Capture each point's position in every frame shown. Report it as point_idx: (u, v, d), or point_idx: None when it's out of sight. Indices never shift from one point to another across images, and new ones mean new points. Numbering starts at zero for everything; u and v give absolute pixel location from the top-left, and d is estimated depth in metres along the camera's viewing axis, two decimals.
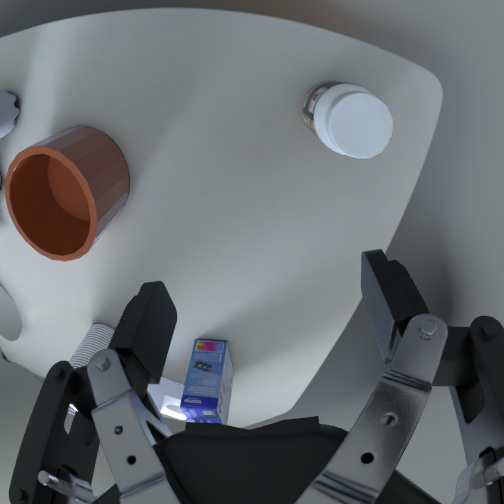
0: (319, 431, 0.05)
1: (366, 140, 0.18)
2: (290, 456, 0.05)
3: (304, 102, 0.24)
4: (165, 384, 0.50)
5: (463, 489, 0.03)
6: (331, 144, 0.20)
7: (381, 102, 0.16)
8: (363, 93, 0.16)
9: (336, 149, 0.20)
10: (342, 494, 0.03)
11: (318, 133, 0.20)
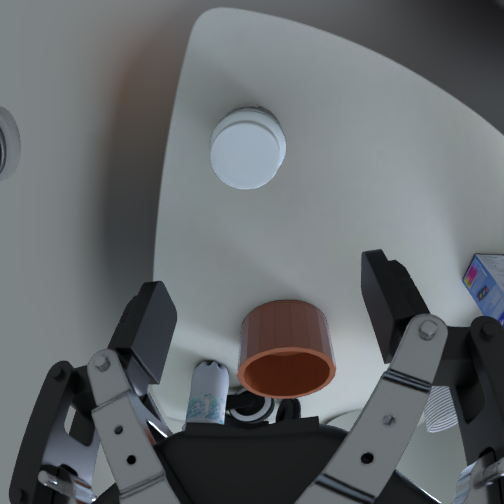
0: (319, 431, 0.05)
1: (259, 153, 0.18)
2: (290, 456, 0.05)
3: None
4: None
5: (463, 489, 0.03)
6: None
7: (217, 138, 0.18)
8: (210, 156, 0.19)
9: None
10: (342, 494, 0.03)
11: None
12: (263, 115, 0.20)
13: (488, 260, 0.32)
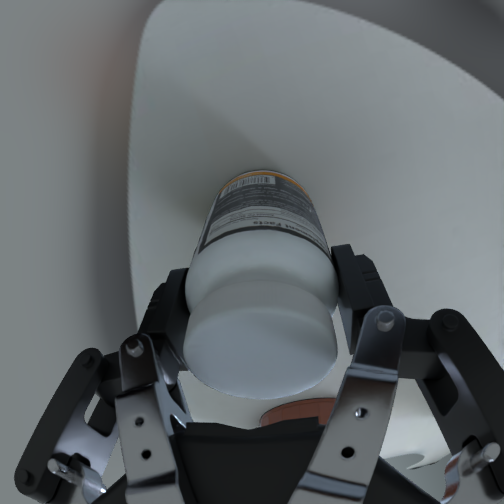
0: (319, 431, 0.05)
1: (292, 357, 0.08)
2: (290, 456, 0.05)
3: None
4: None
5: (453, 480, 0.04)
6: None
7: (193, 336, 0.08)
8: (186, 360, 0.09)
9: None
10: (331, 490, 0.04)
11: None
12: (294, 241, 0.09)
13: None
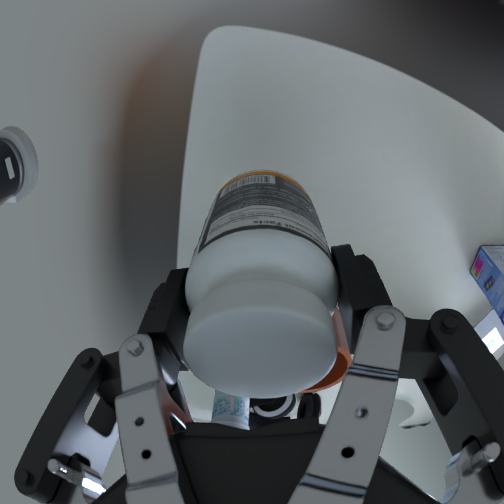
0: (319, 431, 0.05)
1: (292, 356, 0.08)
2: (290, 456, 0.05)
3: None
4: None
5: (453, 480, 0.04)
6: None
7: (193, 335, 0.08)
8: (186, 359, 0.09)
9: None
10: (331, 490, 0.04)
11: None
12: (294, 240, 0.09)
13: (493, 251, 0.33)
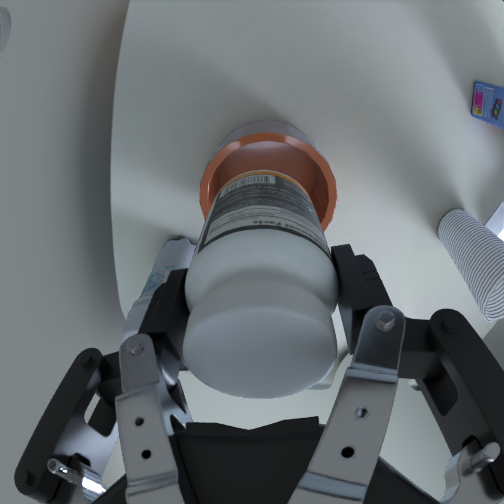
0: (319, 431, 0.05)
1: (292, 357, 0.08)
2: (290, 456, 0.05)
3: None
4: None
5: (453, 480, 0.04)
6: None
7: (192, 335, 0.08)
8: (186, 359, 0.09)
9: None
10: (331, 491, 0.04)
11: None
12: (294, 240, 0.09)
13: None
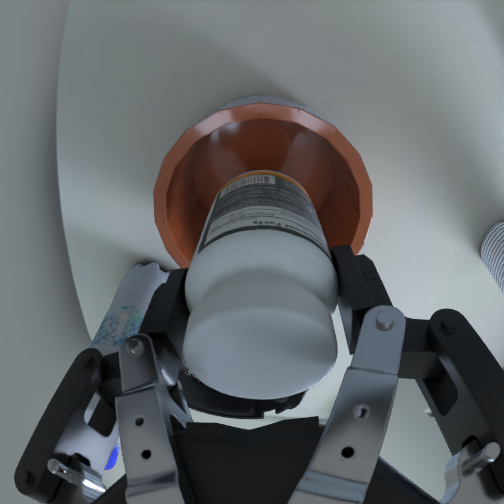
0: (319, 431, 0.05)
1: (292, 357, 0.08)
2: (290, 456, 0.05)
3: None
4: None
5: (453, 480, 0.04)
6: None
7: (193, 335, 0.08)
8: (186, 359, 0.09)
9: None
10: (331, 491, 0.04)
11: None
12: (294, 241, 0.09)
13: None
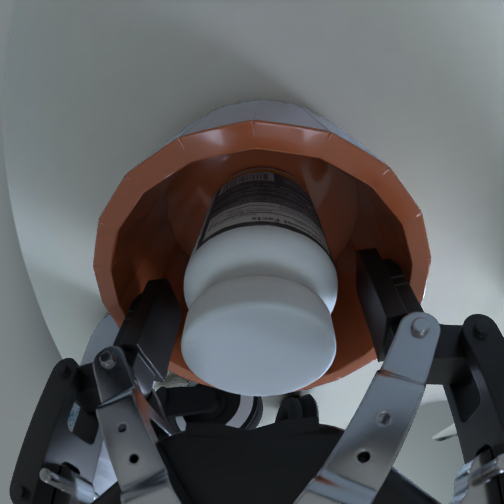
0: (319, 431, 0.05)
1: (291, 353, 0.08)
2: (290, 456, 0.05)
3: None
4: None
5: (461, 487, 0.04)
6: None
7: (191, 331, 0.08)
8: (184, 356, 0.09)
9: None
10: (340, 493, 0.03)
11: None
12: (293, 237, 0.09)
13: None
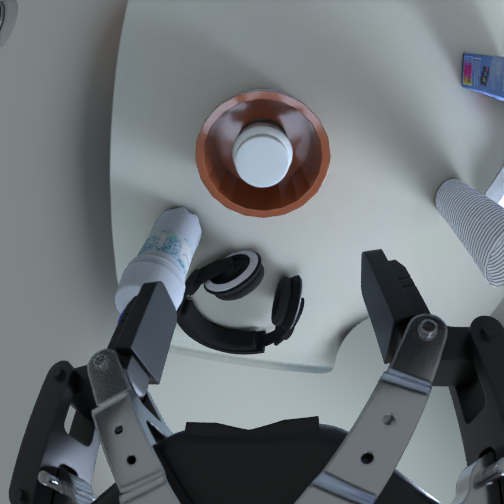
0: (319, 431, 0.05)
1: (273, 159, 0.24)
2: (290, 456, 0.05)
3: None
4: None
5: (463, 489, 0.03)
6: None
7: (240, 149, 0.24)
8: (235, 163, 0.25)
9: None
10: (342, 494, 0.03)
11: None
12: (273, 128, 0.25)
13: None
